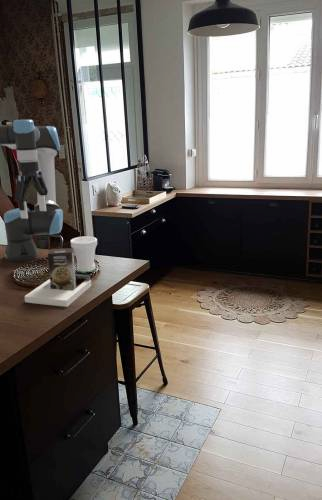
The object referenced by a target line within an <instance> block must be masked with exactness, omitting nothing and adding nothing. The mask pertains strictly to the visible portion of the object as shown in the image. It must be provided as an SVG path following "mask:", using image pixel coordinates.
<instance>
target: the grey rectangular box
mask: <svg viewBox="0 0 322 500" xmlns="http://www.w3.org/2000/svg"><path fill="white" fill-rule="evenodd" d="M47 260H48V271H49V279H50V283H51V288H50V289H59V290H69V291H73V290H74V289H76V288H77V282H76V280H77V279H76V278H75V274H76V268H75V253H74V250H73V248H72V247H71V248H70V247H69V248H50V249H49V250H48V252H47Z"/></svg>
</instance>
